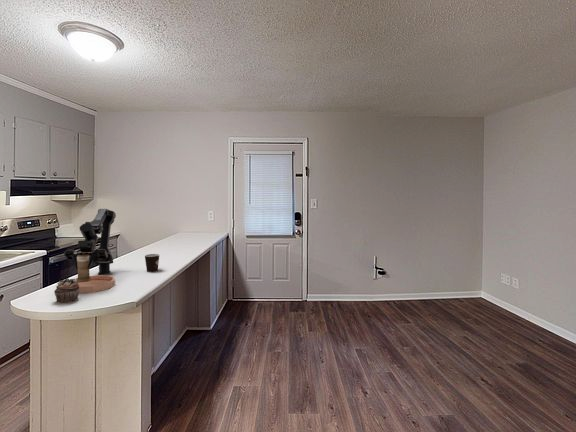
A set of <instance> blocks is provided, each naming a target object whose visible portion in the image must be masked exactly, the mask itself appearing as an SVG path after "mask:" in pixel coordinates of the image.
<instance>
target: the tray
mask: <svg viewBox="0 0 576 432" xmlns="http://www.w3.org/2000/svg"><path fill="white" fill-rule="evenodd" d="M89 276H90V277H91V281H88V282H77V283H78V285H79V289H80V290H79V294H86V293H88V294H89V293H96V292H99V291H100V292H101V291H105V290H107V289H110V288H112V287H114V286H115V285H116V277H114V276H112V275H108V274H102V275H98V274H97V275H96V274H95V275H89ZM77 278H78V277H76V278H75V279H77Z"/></svg>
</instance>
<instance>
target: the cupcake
mask: <svg viewBox="0 0 576 432" xmlns="http://www.w3.org/2000/svg"><path fill="white" fill-rule="evenodd" d="M56 284H57V285H56V286H55V287H56V288H55V290H54V291H53V293H54V295H55V300H56V302H57V303H58V304H67V303H71V302H75V301H77V300H78V298H79V294H80V293H79V290H80V289H79V285H78V283H77V280H76V278H69V277H67V278H65V279H61V280H59V281H58V282H56Z"/></svg>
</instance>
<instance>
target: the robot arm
mask: <svg viewBox="0 0 576 432" xmlns="http://www.w3.org/2000/svg"><path fill="white" fill-rule="evenodd" d="M116 215H117V214H116V212H115V211H114V210H110V209H108V208H98V210H97V213H96V215H95V217H94V218H93V220H92V221H85V223H81V225H80V226H79V232H80V233H81V235H82V237H83V238H84V239H83V240H78V242H77V248H79V249H78V251H76V250H75V249H65V250H64V252H63V255H64V257H65V258H66V260H67V261H74V266H75V269H76V270H78V267H77V256H78V255H84V254H87V255H89V257H90V258H89V264H88V269H89V270H90V268H92V266H93V265H98V272H97V275H110V274H111V273H112V271H111V268H110V267H111V264H114V257H113V256H112V251H111V250H110V248H109V245H110V236H111V228H112V227H111V226H112V225H113V224H114V222H115V218H116ZM98 235H100V242H99V247H98V248H97V247H96V245H97V242H98V241H99V236H98Z"/></svg>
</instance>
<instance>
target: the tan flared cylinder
mask: <svg viewBox="0 0 576 432" xmlns="http://www.w3.org/2000/svg"><path fill="white" fill-rule="evenodd" d="M89 262H90V256H89V255H87V254H84V255H78V256H77V267H78V269H77V277H76V278H77V279H76V278H75V279H76V280H77V282H88V281H91V277H90V276H91V275H90V268H89V269H88V264H89Z"/></svg>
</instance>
